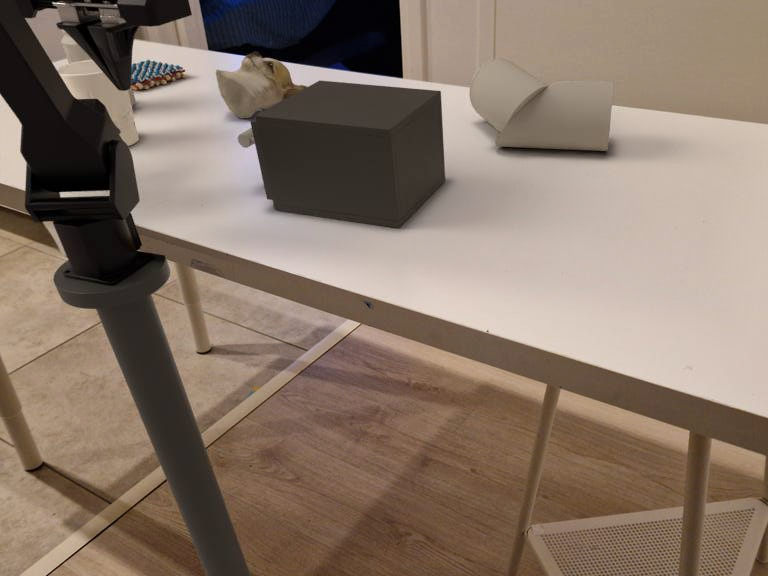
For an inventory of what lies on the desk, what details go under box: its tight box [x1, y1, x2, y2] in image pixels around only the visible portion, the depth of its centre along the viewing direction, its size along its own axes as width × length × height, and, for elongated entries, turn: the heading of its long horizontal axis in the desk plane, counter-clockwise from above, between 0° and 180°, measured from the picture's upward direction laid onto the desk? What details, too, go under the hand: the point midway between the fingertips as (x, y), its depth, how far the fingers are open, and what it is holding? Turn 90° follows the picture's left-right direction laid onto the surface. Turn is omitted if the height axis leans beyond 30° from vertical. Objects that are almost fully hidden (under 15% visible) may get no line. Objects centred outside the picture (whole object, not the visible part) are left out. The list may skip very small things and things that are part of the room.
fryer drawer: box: [237, 118, 273, 201], centre depth 82 cm, size 19×12×9 cm, turn 71°
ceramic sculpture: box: [215, 51, 308, 119], centre depth 108 cm, size 11×9×15 cm
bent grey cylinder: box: [469, 58, 615, 152], centre depth 96 cm, size 18×11×20 cm
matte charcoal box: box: [254, 80, 446, 229], centre depth 81 cm, size 16×14×11 cm
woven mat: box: [131, 59, 187, 91], centre depth 123 cm, size 10×11×2 cm
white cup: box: [56, 60, 140, 147], centre depth 97 cm, size 8×8×10 cm
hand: (124, 89), depth 78 cm, fingers closed
